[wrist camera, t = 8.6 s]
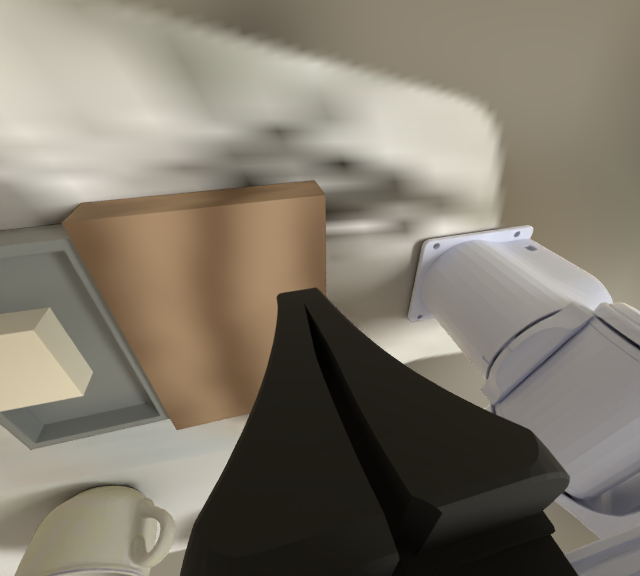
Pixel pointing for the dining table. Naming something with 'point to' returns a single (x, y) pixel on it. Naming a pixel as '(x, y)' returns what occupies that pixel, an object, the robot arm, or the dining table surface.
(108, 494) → the teacup
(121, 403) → the tray
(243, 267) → the board
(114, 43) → the dining table surface
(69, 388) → the tile
